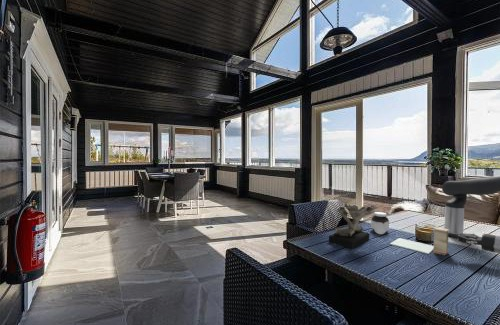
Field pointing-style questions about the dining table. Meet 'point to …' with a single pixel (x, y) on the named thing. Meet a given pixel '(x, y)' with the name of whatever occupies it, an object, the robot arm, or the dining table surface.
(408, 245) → the sage board
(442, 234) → the maple block
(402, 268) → the dining table surface
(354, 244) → the coral
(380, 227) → the spread jar
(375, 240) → the dining table surface
